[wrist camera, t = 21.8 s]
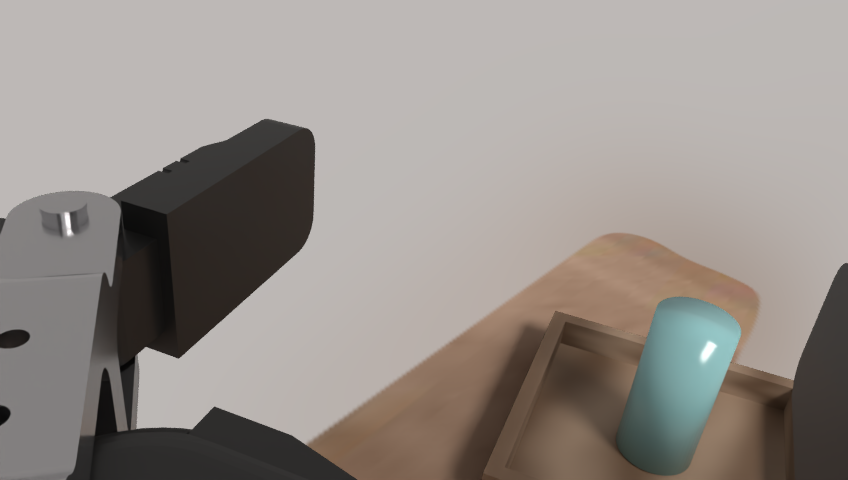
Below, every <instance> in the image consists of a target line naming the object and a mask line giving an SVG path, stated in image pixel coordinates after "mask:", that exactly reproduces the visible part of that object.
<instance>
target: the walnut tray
mask: <svg viewBox="0 0 848 480" xmlns="http://www.w3.org/2000/svg"><path fill="white" fill-rule="evenodd" d="M646 339H647V337H643V336H640V335H636V334H633V333H630V332H626V331H623V330H619V329H616V328H612V327H609V326H606V325H602V324H599V323H595V322H592V321H588V320H585V319H582V318H578V317H575V316H571V315H568V314H564V313H561V312H558V311H555V313H554V315H553V317H552V319H551V322H550V324H549V326H548V328H547V331H546V333H545V335H544V337H543V340H542V342H541V344H540V346H539V349H538V351H537V353H536V355H535V357H534V360H533V362H532V364H531V366H530V369H529V371H528V373H527V375H526V378H525V380H524V382H523V384H522V387H521V389H520V391H519V393H518V396H517V398H516V400H515V402H514V405H513V407H512V409H511V411H510V413H509V416H508V418H507V420H506V422H505V425H504V427H503V429H502V431H501V434H500V436H499V438H498V440H497V443H496V445H495V447H494V449H493V452H492V454H491V456H490V458H489V460H488V463H487V465H486V467H485V469H484V472H483V475H482V480H795V466H794V442H793V417H792V390H793V384H794V380H791V379H787V378H784V377H780V376H777V375H773V374H770V373H767V372H763V371H760V370H756V369H753V368H749V367H746V366H742V365H739V364H736V363H732V362H730V364H729V367H728V369H727V372H726V375H725V377H724V380H723V382H722V385H721V387H720V390H719V392H718V395H717V398H716V400H715V403H714V405H713V408H712V410H711V413H710V415H709V418H708V420H707V423H706V426H705V428H704V431H703V433H702V436H701V438H700V441H699V443H698V446H697V449H696V451H695V454H694V456H693V459H692V461H691V464H690V466H689V467H688V469H687V470H685V471H684V472H682V473H680V474H677V475H672V476H663V475H656V474H652V473H649V472H647V471H644V470H642V469H640V468H638V467H636V466H635V465H633V464H632V463H631V462H629V461H628V460H627V459H626V458H625V457H624V456H623V455H622V453H621V452H620V450H619V448H618V446H617V444H616V433H617V430H618V427H619V424H620V421H621V418H622V415H623V411H624V408H625V405H626V402H627V399H628V396H629V393H630V389H631V386H632V383H633V380H634V377H635V374H636V371H637V367H638V364H639V361H640V358H641V355H642V352H643V349H644V345H645V342H646Z"/></svg>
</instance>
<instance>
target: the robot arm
mask: <svg viewBox="0 0 848 480" xmlns="http://www.w3.org/2000/svg"><path fill="white" fill-rule="evenodd" d="M314 166H315V142H314V136H313V134H312V132H311V131H310V130H309V129H307V128H302V127H299V126H295V125H290V124H287V123H283V122H278V121H274V120H270V119H264V120H261V121H260V122H258V123H256V124H254V125H253V126H251V127H249V128H247V129H246V130H244V131H242V132H240V133H239V134H237V135H235V136H233V137H232V138H230V139H228V140H226V141H223V142H219V143H214V144H211V145H207V146H203V147H201V148H199V149H197V150H195V151H194V152H192V153H190V154H188V155H186V156H184V157H183V158H181V160H180V162H178V161H175V162H174V163H172V164H170V165H168V166H166V167H164V168H163V171H162V172H161V171H157V172H156V173H154V174H152V175H150V176H148V177H147V178H145V179H143V180H141V181H139V182H137V183H136V184H134V185H132V186H130V187H128V188H127V189H125V190H123V191H121V192H119V193H118V194H116V195H114V196H112V197H107V196H105V195H102V194H98V193H92V192H84V191H66V192H56V193H50V194H45V195H41V196H38V197H35V198H32V199H30V200H27V201H25V202H23V203H21V204H19V205H18V206H16V207H15V208H13V209H12V210H11V211H10V213H9V214H8V216H7V218H6V219H4V218H0V480H357V479H355V478H354V477H352V476H351V475H349V474H348V473H347V472H345V471H344V470H342V469H341V468H339V467H338V466H336V465H335V464H333V463H332V462H330V461H329V460H327V459H326V458H324V457H323V456H321V455H320V454H318V453H317V452H315V451H314V450H312V449H311V448H309V447H308V446H307V445H305V444H304V443H302V442H301V441H299V440H298V439H296V438H294V437H293V436H291V435H289V434H286V433H283V432H281V431H278V430H276V429H273V428H270V427H268V426H265V425H262V424H259V423H257V422H254V421H252V420H249V419H246V418H243V417H241V416H238V415H235V414H233V413H230V412H227V411H225V410H222V409H219V408H216V407H214V408H213V409H212V410H211V411H210V412H209V413H208V414H207V415H206V416H205V417H204V418H203V419H202V420H201V421H200V422H199V423H198V424H197V425H196V426H195V427H194V428H193V429H192V430H191V429H183V428H142V429H136V424H137V406H138V405H137V404H138V387H139V364H138V356H137V354H138V353H139V352H140V351H141V350H143V349H144V348H145V347H148V348H151V349H154V350H157V351H159V352H162V353H165V354H168V355H170V356H173V357H176V358H180V357H181V356H182V355H183V354H185V353H186V352H187V351H188V350H189V349H190V348H191V347H192V346H193V345H194V344H196V343H197V342H198V341H199V340H200V339H201V338H202V337H204V336H205V335H206V334H207V333H208V332H209V331H210V330H211V329H212V328H214V327H215V326H216V325H217V324H218V323H219V322H220V321H222V320H223V319H224V318H225V317H226V316H227V315H228V314H229V313H231V312H232V311H233V310H234V309H235V308H236V307H237V306H238V305H239V304H240V303H242V302H243V301H244V300H245V299H246V298H247V297H248V296H250V294H252V293H253V292H254V291H255V290H256V289H257V288H258V287H259V286H261V285H262V284H263V283H264V282H265V281H266V280H268V279H269V278H270V277H271V276H272V275H273V274H274V273H275V272H277V270H279V269H280V268H281V267H282V266H283V265H284V264H285V263H287V262H288V261H289V260H290V259H291V258H292V257H293V256H294V255H296V254H297V253H298V252H299V251H300V250H301V249H302V247H303V246H304V244H305V242H306V240H307V239H308V236H309V234H310V230H311V227H312V222H313V211H314V170H315V167H314ZM792 417H793V442H794V466H795V480H848V263H845V264H843V265H842V266H841V267H840V269H839V270H838V272H837V274H836V276H835V278H834V280H833V282H832V285H831V287H830V289H829V292H828V294H827V296H826V299H825V301H824V303H823V306H822V308H821V310H820V313H819V315H818V318H817V320H816V323H815V325H814V327H813V329H812V332H811V334H810V336H809V339H808V341H807V343H806V346H805V348H804V351H803V353H802V356H801V358H800V361H799V364H798V367H797V371H796V375H795V379H794V384H793V390H792Z"/></svg>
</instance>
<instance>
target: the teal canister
mask: <svg viewBox="0 0 848 480" xmlns="http://www.w3.org/2000/svg"><path fill="white" fill-rule="evenodd" d="M740 336H741V328H740V326H739V324H738V323H737V321H736V320H735V319H734V318H733V317H732V316H731V315H730V314H728V313H727V312H726V311H724V310H723V309H721V308H719V307H717V306H715V305H713V304H711V303H708V302H706V301H703V300H699V299H695V298H689V297H671V298H667V299H665V300H663V301H661V302H660V303H659V304H658V305H657V308H656V311H655V314H654V317H653V320H652V323H651V327H650V330H649V333H648V336H647V339H646V342H645V345H644V349H643V352H642V355H641V358H640V361H639V364H638V367H637V371H636V374H635V377H634V380H633V383H632V386H631V389H630V393H629V396H628V399H627V402H626V405H625V408H624V411H623V415H622V418H621V421H620V424H619V427H618V430H617V433H616V444H617V446H618V448H619V450H620V452H621V453H622V455H623V456H624V457H625V458H626V459H627V460H628V461H629V462H631V463H632V464H633V465H635V466H636V467H638V468H640V469H642V470H644V471H647V472H649V473H652V474H656V475H663V476H672V475H677V474H680V473H682V472H684V471H685V470H687V469H688V467H689V466H690V464H691V461H692V459H693V456H694V454H695V451H696V449H697V446H698V443H699V441H700V438H701V436H702V433H703V431H704V428H705V426H706V423H707V420H708V418H709V415H710V413H711V410H712V408H713V405H714V403H715V400H716V398H717V395H718V392H719V390H720V387H721V385H722V382H723V380H724V377H725V375H726V372H727V369H728V367H729V364H730V362H731V359H732V357H733V354H734V352H735V349H736V347H737V344H738V341H739V339H740Z"/></svg>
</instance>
